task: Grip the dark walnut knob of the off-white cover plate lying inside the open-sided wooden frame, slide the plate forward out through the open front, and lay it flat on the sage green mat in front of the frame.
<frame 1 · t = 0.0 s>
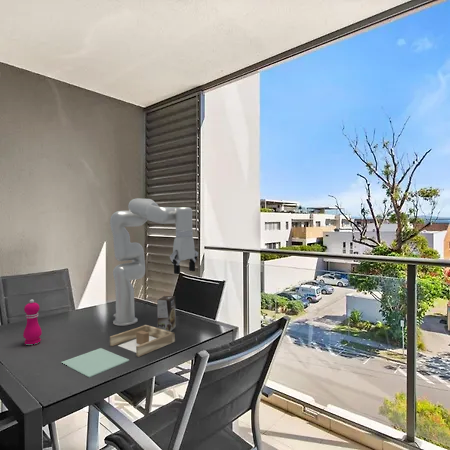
hand: (184, 272, 151), 31 cm above the table, tool pointing down, fingers open, 9 cm apart
coffee box: (166, 330, 167), on the table
sage mat: (95, 361, 131), on the table
pepper mill: (32, 343, 151), on the table
cover plate: (142, 345, 149), on the table
open-sided wooden frame: (142, 343, 149), on the table
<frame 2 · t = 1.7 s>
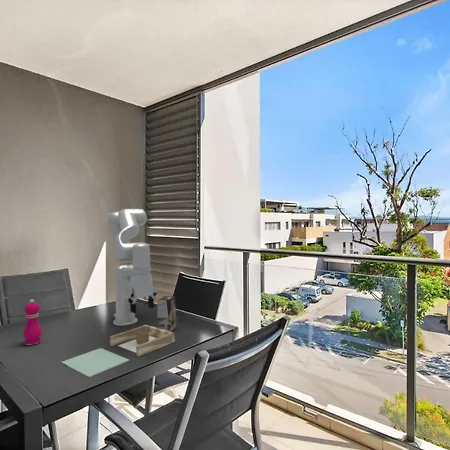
hand: (142, 310, 148), 15 cm above the table, tool pointing down, fingers open, 9 cm apart
nothing on the table moved.
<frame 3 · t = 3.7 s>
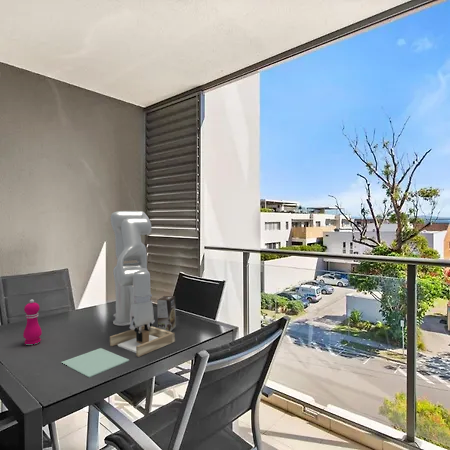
hand: (142, 339, 148), 2 cm above the table, tool pointing down, fingers closed on cover plate, 3 cm apart
cover plate: (142, 344, 149), on the table, touching gripper
everything else where it was.
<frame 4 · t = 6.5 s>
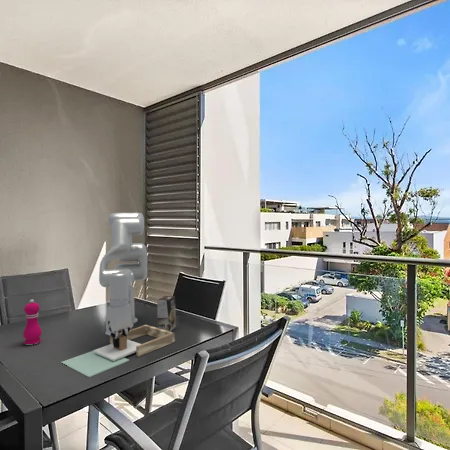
hand: (120, 345, 139), 3 cm above the table, tool pointing down, fingers closed on cover plate, 3 cm apart
cover plate: (120, 350, 140), point 1 cm above the table, touching gripper
everything else where it was.
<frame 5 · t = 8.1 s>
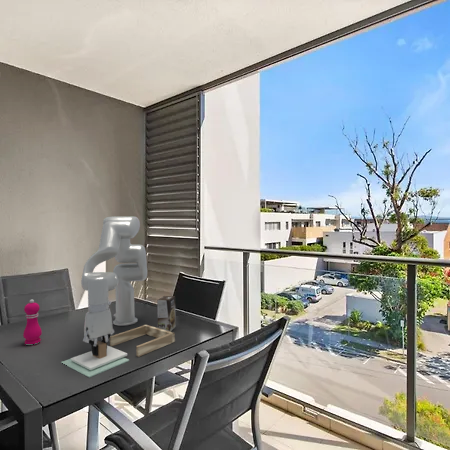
hand: (99, 353, 132), 3 cm above the table, tool pointing down, fingers closed on cover plate, 3 cm apart
cover plate: (99, 357, 132), point 1 cm above the table, touching gripper
everything else where it was.
when the fingers open (3 cm above the table, at t = 9.4 s): cover plate stays where it is, resting on sage mat.
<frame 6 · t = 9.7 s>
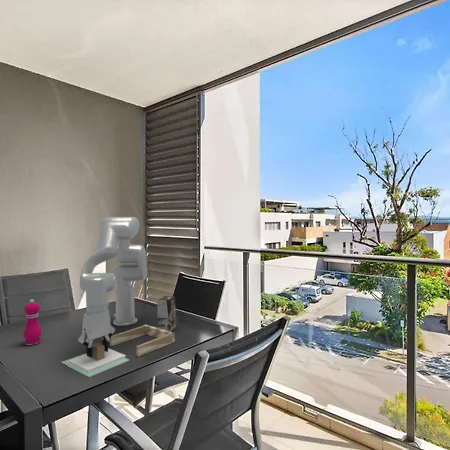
hand: (97, 353, 131), 3 cm above the table, tool pointing down, fingers open, 6 cm apart
cover plate: (97, 359, 132), resting on sage mat
everything else where it was.
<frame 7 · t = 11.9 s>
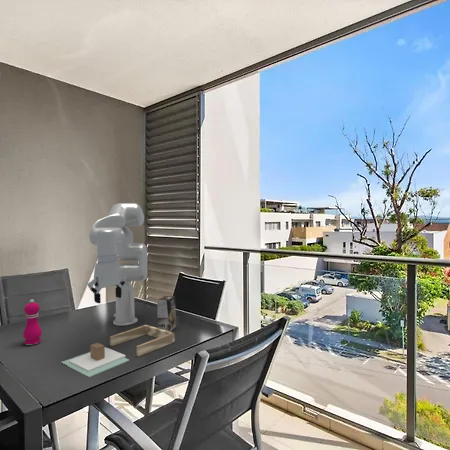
hand: (108, 299, 139), 22 cm above the table, tool pointing down, fingers open, 9 cm apart
nothing on the table moved.
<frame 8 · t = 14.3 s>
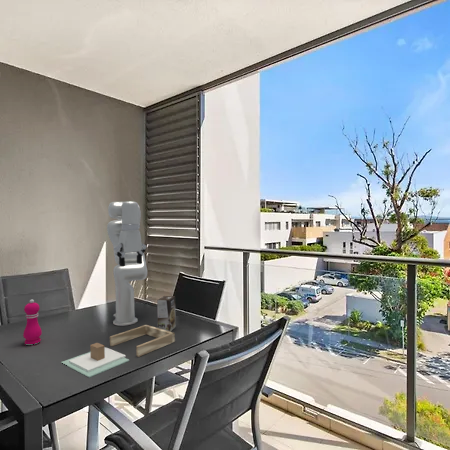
hand: (131, 264, 156), 34 cm above the table, tool pointing down, fingers open, 9 cm apart
nothing on the table moved.
at the end: cover plate inside the target area on the sage mat (1.1 cm from its centre), point 0.4 cm above the sage mat's base; cover plate tilted 0°; the gripper is holding nothing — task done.
